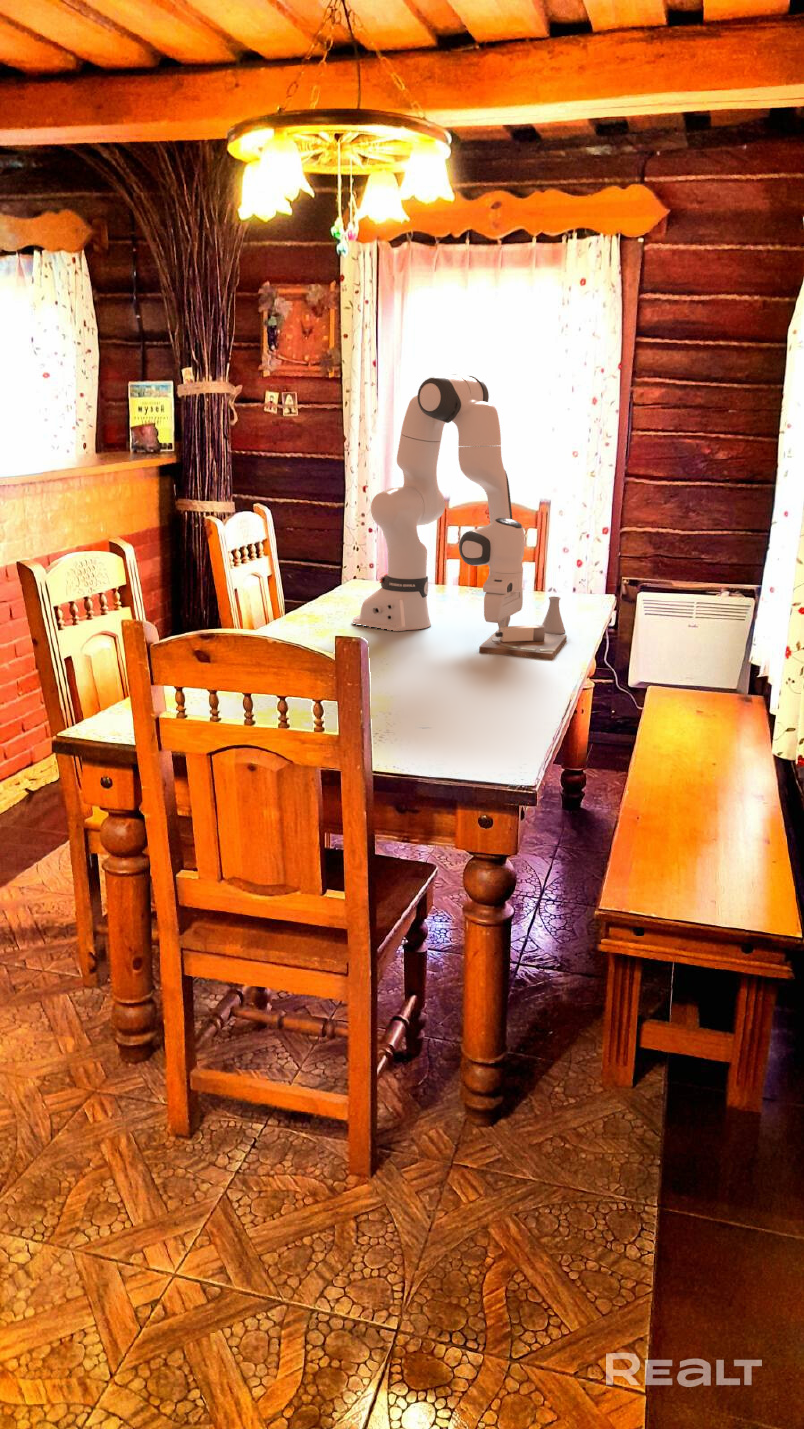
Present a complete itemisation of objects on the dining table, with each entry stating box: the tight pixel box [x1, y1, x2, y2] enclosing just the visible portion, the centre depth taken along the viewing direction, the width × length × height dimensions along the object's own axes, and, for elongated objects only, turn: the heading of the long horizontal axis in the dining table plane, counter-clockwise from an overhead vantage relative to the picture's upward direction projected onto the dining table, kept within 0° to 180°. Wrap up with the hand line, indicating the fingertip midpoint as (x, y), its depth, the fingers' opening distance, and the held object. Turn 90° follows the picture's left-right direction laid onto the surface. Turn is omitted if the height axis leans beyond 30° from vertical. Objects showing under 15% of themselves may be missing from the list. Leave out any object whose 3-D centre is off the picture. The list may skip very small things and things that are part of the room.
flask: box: [541, 595, 566, 635], centre depth 292 cm, size 7×7×10 cm
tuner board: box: [478, 628, 568, 660], centre depth 277 cm, size 19×22×2 cm
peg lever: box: [494, 624, 545, 642], centre depth 276 cm, size 14×4×4 cm, turn 104°
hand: (503, 633), depth 278 cm, fingers closed
